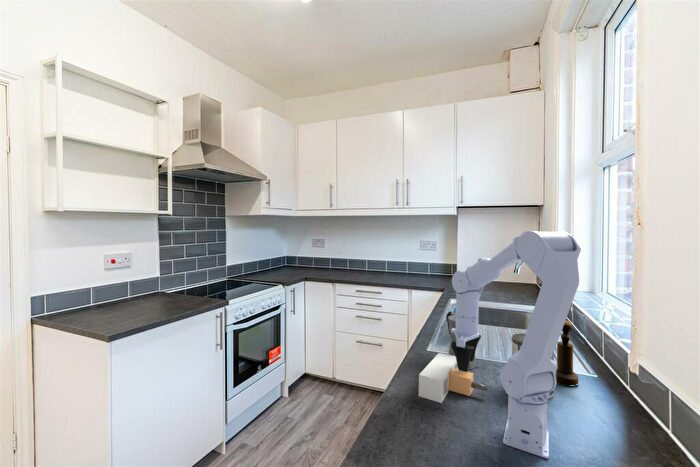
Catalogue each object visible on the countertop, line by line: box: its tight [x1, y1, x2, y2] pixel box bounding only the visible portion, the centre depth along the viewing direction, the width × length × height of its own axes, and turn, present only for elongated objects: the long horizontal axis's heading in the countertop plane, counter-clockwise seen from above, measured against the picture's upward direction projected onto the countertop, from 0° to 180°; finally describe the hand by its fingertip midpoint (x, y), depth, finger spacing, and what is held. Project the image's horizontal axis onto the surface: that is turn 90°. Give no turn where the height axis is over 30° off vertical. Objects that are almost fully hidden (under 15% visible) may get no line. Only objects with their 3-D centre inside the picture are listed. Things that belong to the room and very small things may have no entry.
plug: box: [449, 368, 489, 397], centre depth 85 cm, size 4×13×4 cm, turn 57°
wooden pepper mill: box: [556, 319, 579, 386], centre depth 92 cm, size 7×6×18 cm
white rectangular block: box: [418, 352, 458, 404], centre depth 89 cm, size 18×6×6 cm, turn 148°
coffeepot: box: [445, 311, 477, 371], centre depth 104 cm, size 15×9×18 cm, turn 15°
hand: (466, 365), depth 85 cm, fingers open, 7 cm apart
